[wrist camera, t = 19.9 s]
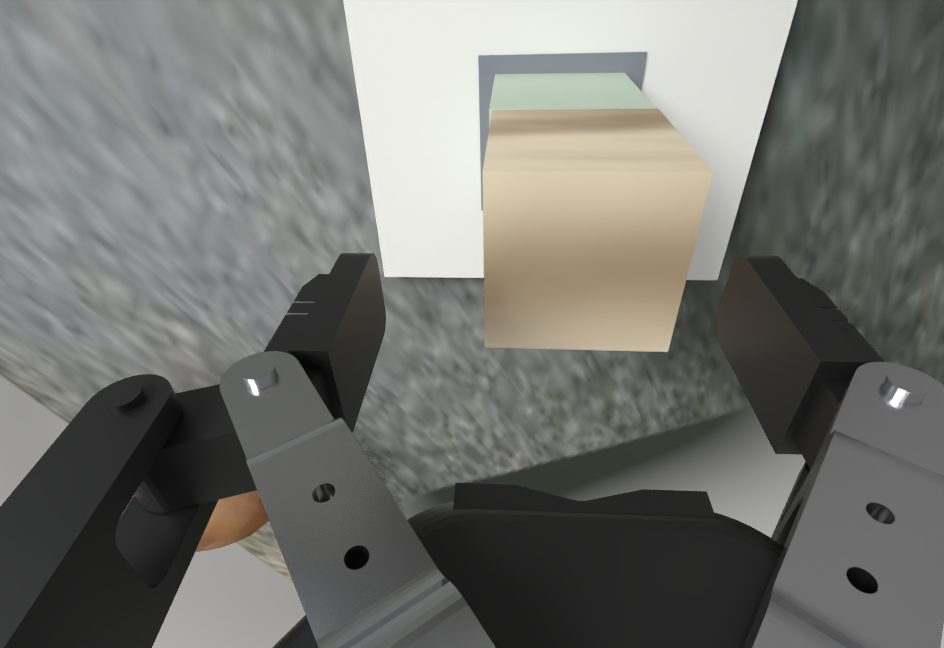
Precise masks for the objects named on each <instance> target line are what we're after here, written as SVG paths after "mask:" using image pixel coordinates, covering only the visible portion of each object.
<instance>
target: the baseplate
mask: <svg viewBox="0 0 944 648" xmlns="http://www.w3.org/2000/svg"><path fill="white" fill-rule="evenodd" d="M343 1H344V8H345V14H346V21H347V28H348V34H349V41H350V48H351V55H352V61H353V68H354V75H355V81H356V88H357V95H358V101H359V108H360V115H361V122H362V128H363V135H364V142H365V148H366V155H367V162H368V169H369V175H370V182H371V189H372V195H373V202H374V209H375V215H376V222H377V229H378V236H379V242H380V249H381V256H382V262H383V269H384V276H385V277H452V278H484V250H483V166H484V159H485V153H486V146H487V140H488V133H489V106H490V101H491V95H492V89H493V84H494V78H495V74H549V73H626V75H627V76H628V77H629V78H630V79H631V80H632V81H633V83H634V84H635V85H636V86H637V87H638V88H639V90H640V91H641V92H642V93H643V94H644V95H645V97H646V98H647V99H648V100H649V101H650V102H651V104H652V105H653V106H654V107H655V109H657V108H658V109H659V110H660V111H661V112H662V113H663V114H664V116H665V117H666V118H667V119H668V120H669V121H670V122H671V124H672V125H673V126H674V127H675V128H676V129H677V130H678V132H679V133H680V134H681V135H682V136H683V137H684V138H685V140H686V141H687V142H688V143H689V144H690V145H691V146H692V148H693V149H694V150H695V151H696V152H697V153H698V154H699V156H700V157H701V158H702V159H703V160H704V161H705V162H706V163H707V165H708V166H709V167H710V168H711V169H712V170H713V171H714V173H713V177H712V181H711V185H710V189H709V192H708V196H707V200H706V204H705V208H704V212H703V216H702V220H701V224H700V228H699V232H698V236H697V240H696V244H695V247H694V251H693V255H692V259H691V263H690V267H689V271H688V275H687V279H686V280H718V277H719V273H720V270H721V266H722V263H723V259H724V256H725V252H726V249H727V245H728V242H729V238H730V235H731V231H732V228H733V224H734V221H735V217H736V214H737V211H738V207H739V204H740V200H741V197H742V193H743V190H744V186H745V183H746V179H747V176H748V172H749V169H750V165H751V162H752V158H753V155H754V151H755V148H756V144H757V141H758V138H759V134H760V131H761V127H762V124H763V120H764V117H765V113H766V110H767V106H768V103H769V99H770V96H771V92H772V89H773V85H774V82H775V78H776V75H777V71H778V68H779V65H780V61H781V58H782V54H783V51H784V47H785V44H786V40H787V37H788V33H789V30H790V26H791V23H792V19H793V16H794V12H795V9H796V5H797V2H798V0H343Z"/></svg>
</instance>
